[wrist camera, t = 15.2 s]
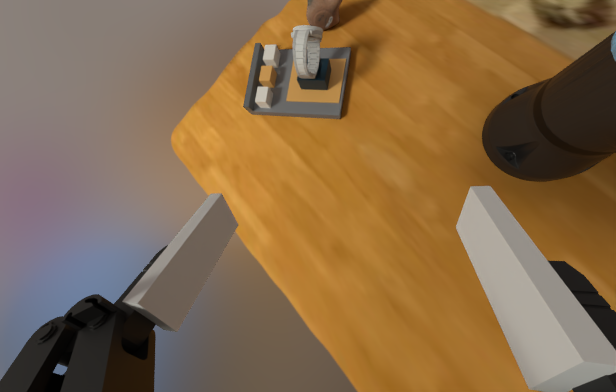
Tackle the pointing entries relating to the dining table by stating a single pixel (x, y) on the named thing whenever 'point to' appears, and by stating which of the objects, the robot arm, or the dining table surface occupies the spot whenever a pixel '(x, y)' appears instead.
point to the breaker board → (294, 84)
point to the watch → (310, 58)
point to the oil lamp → (323, 13)
